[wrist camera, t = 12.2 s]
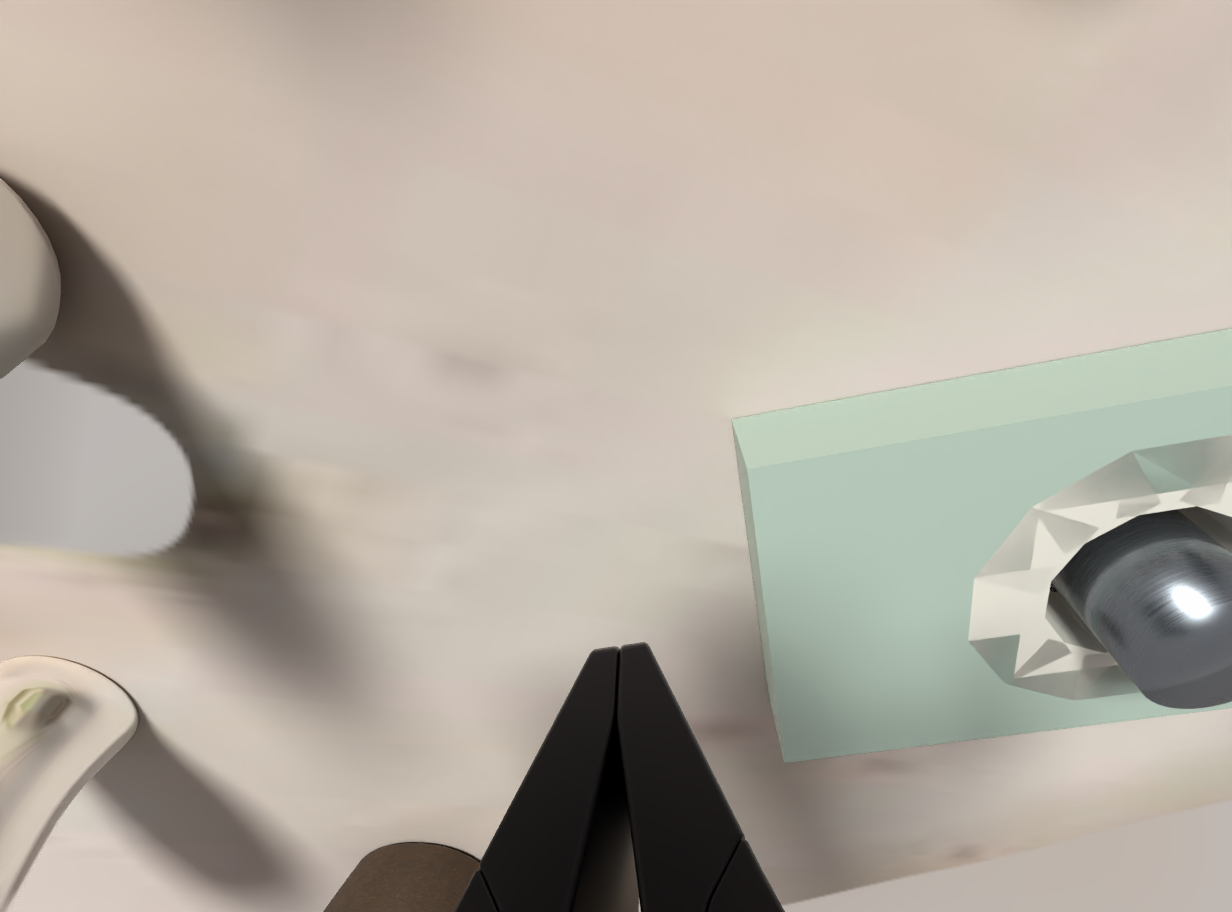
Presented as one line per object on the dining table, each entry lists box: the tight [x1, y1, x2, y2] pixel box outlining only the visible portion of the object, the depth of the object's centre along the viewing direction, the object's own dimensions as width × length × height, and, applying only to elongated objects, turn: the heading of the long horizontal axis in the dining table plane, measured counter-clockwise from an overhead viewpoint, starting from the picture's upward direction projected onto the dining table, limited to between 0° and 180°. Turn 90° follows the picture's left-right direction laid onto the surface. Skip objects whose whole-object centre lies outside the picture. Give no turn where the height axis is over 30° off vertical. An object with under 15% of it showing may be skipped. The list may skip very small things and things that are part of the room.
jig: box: [732, 328, 1232, 763], centre depth 22 cm, size 18×14×3 cm
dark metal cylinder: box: [1051, 509, 1232, 709], centre depth 21 cm, size 4×4×6 cm
